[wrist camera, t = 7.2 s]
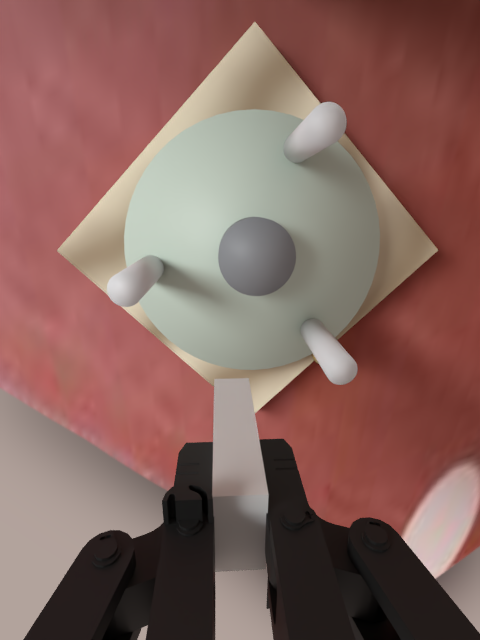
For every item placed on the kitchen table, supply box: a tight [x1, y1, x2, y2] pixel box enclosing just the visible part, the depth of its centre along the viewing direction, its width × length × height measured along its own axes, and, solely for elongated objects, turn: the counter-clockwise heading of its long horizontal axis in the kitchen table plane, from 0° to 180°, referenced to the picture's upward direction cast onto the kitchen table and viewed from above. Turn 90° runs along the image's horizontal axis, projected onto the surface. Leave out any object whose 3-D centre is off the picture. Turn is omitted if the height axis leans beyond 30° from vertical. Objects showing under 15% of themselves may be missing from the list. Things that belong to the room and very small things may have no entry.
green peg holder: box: [107, 102, 380, 385], centre depth 20 cm, size 16×16×8 cm
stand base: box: [57, 22, 438, 413], centre depth 25 cm, size 18×18×3 cm
